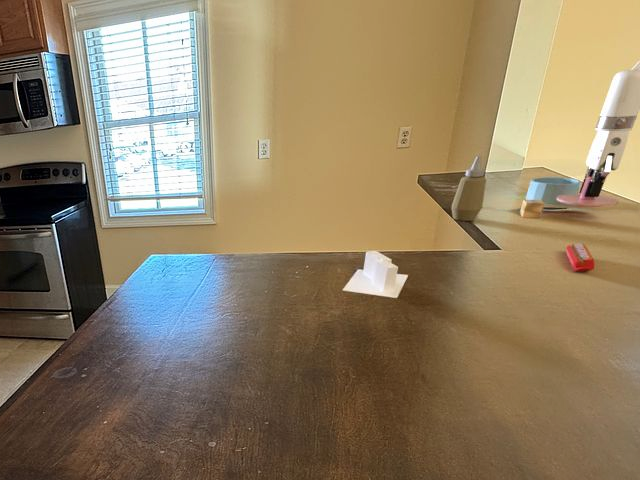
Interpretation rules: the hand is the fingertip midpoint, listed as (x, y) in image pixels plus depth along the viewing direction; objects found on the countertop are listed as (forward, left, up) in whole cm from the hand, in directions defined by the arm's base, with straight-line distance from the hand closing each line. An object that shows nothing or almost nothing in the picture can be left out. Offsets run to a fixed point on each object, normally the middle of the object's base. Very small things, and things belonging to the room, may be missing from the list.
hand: (588, 194), depth 136 cm
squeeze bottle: (+30, +4, -7) cm, 31 cm away
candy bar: (+11, +43, -7) cm, 45 cm away
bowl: (+4, -18, -7) cm, 20 cm away
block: (+12, -2, -7) cm, 14 cm away
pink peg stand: (0, 0, -2) cm, 2 cm away
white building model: (+53, +65, -7) cm, 84 cm away
